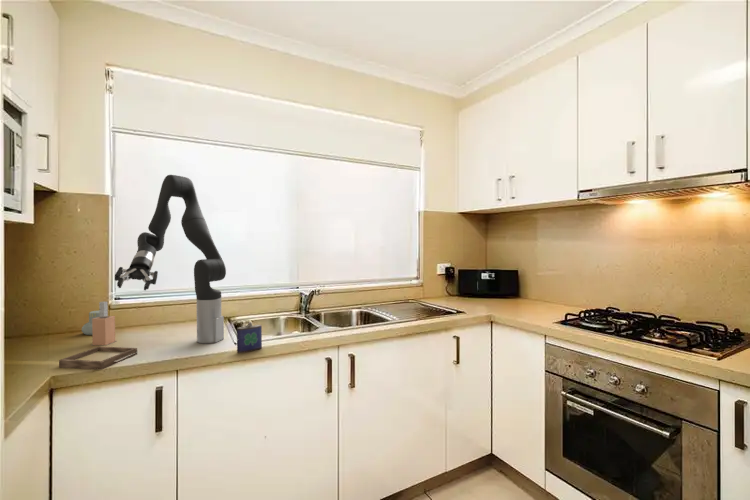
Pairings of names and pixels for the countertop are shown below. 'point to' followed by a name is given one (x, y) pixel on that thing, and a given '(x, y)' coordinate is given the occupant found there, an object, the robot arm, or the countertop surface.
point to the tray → (86, 364)
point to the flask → (249, 338)
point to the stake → (103, 312)
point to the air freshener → (90, 323)
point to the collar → (103, 330)
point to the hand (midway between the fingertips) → (132, 287)
